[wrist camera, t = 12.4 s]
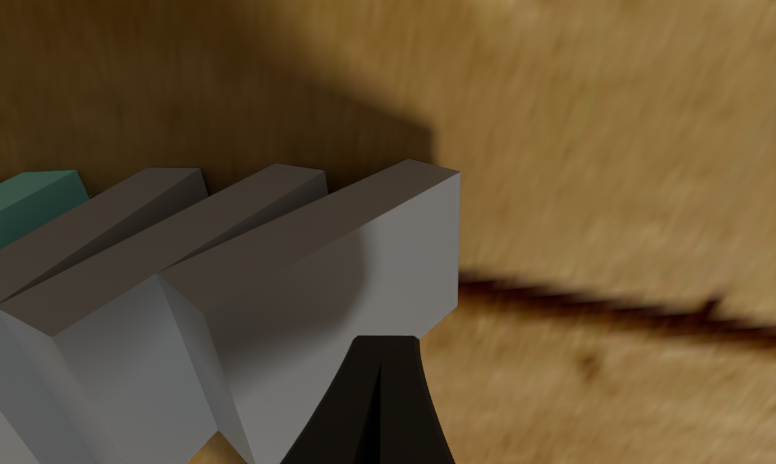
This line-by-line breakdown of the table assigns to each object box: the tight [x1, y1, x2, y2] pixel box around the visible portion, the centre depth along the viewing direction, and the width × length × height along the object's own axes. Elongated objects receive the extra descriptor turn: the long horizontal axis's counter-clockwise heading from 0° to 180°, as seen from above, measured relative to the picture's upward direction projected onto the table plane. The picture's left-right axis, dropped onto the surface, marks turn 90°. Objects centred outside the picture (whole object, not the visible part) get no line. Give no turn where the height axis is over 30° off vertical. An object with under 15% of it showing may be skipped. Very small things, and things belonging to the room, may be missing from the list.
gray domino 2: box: [157, 159, 461, 464], centre depth 12 cm, size 2×5×8 cm
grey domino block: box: [0, 167, 208, 464], centre depth 12 cm, size 2×5×8 cm, turn 3°
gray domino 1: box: [0, 163, 328, 464], centre depth 12 cm, size 2×5×8 cm, turn 2°
